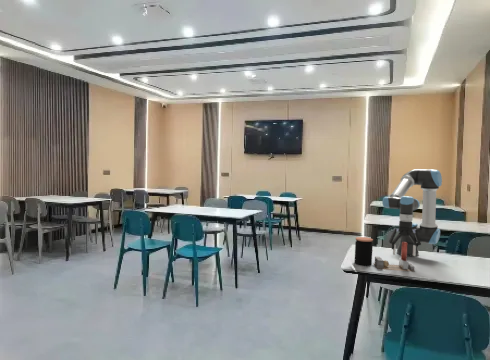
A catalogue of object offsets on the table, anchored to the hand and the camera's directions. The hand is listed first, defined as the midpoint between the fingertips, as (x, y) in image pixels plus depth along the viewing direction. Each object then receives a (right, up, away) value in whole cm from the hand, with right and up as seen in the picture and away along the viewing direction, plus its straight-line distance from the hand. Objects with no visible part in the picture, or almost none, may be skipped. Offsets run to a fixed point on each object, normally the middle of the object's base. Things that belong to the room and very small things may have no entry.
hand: (404, 255), depth 229 cm
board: (-6, -9, +1) cm, 11 cm away
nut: (-11, -8, +2) cm, 14 cm away
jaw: (0, -8, 0) cm, 8 cm away
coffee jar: (-24, -9, +7) cm, 26 cm away
